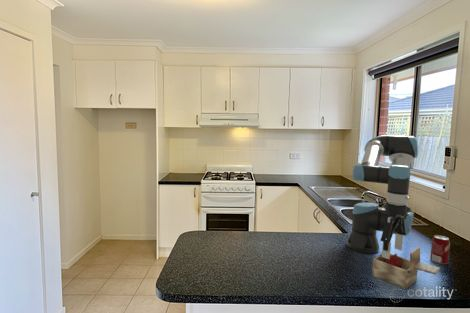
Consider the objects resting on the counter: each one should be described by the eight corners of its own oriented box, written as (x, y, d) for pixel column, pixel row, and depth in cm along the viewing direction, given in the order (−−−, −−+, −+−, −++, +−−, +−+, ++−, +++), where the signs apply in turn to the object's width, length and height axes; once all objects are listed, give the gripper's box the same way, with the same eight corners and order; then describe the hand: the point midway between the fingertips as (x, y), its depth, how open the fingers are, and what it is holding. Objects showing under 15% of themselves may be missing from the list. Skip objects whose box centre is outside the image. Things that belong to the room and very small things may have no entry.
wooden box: (371, 275, 115) (373, 258, 115) (383, 266, 123) (384, 250, 123) (408, 290, 105) (409, 271, 105) (418, 279, 113) (419, 262, 113)
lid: (410, 253, 105) (434, 258, 100) (418, 246, 112) (441, 251, 106) (410, 271, 106) (434, 278, 100) (418, 263, 112) (441, 269, 106)
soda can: (440, 266, 126) (443, 240, 125) (426, 259, 133) (429, 235, 132) (451, 264, 128) (454, 239, 127) (437, 258, 134) (439, 234, 133)
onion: (380, 268, 119) (385, 250, 120) (393, 273, 119) (397, 254, 120) (389, 272, 113) (393, 252, 114) (402, 276, 113) (406, 257, 114)
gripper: (395, 210, 102) (390, 265, 104) (416, 200, 118) (412, 248, 120) (374, 205, 107) (369, 258, 109) (397, 197, 124) (393, 243, 126)
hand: (392, 253), depth 115 cm, fingers open, 13 cm apart
